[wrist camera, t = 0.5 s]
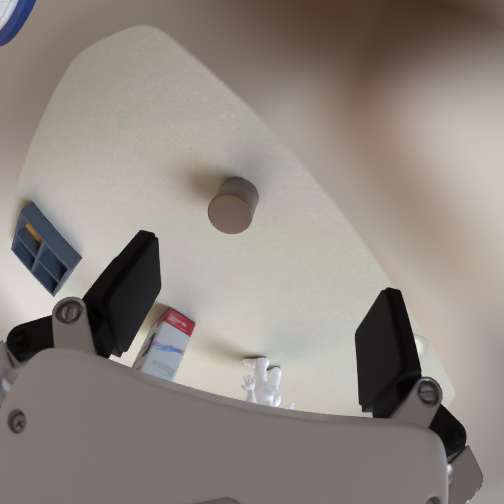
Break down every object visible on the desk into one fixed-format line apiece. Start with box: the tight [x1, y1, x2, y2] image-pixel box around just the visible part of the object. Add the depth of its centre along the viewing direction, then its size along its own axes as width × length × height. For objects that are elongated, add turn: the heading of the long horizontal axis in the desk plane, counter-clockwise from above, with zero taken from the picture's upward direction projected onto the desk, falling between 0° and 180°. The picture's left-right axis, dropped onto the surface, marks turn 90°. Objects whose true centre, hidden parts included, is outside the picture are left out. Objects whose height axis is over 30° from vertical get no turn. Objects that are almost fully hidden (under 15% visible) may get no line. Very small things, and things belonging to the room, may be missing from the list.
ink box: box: [132, 308, 195, 382], centre depth 38 cm, size 9×5×12 cm, turn 141°
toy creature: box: [241, 358, 295, 410], centre depth 40 cm, size 12×6×12 cm, turn 41°
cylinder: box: [208, 178, 258, 234], centre depth 26 cm, size 4×4×4 cm
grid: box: [11, 202, 82, 297], centre depth 37 cm, size 13×13×3 cm
